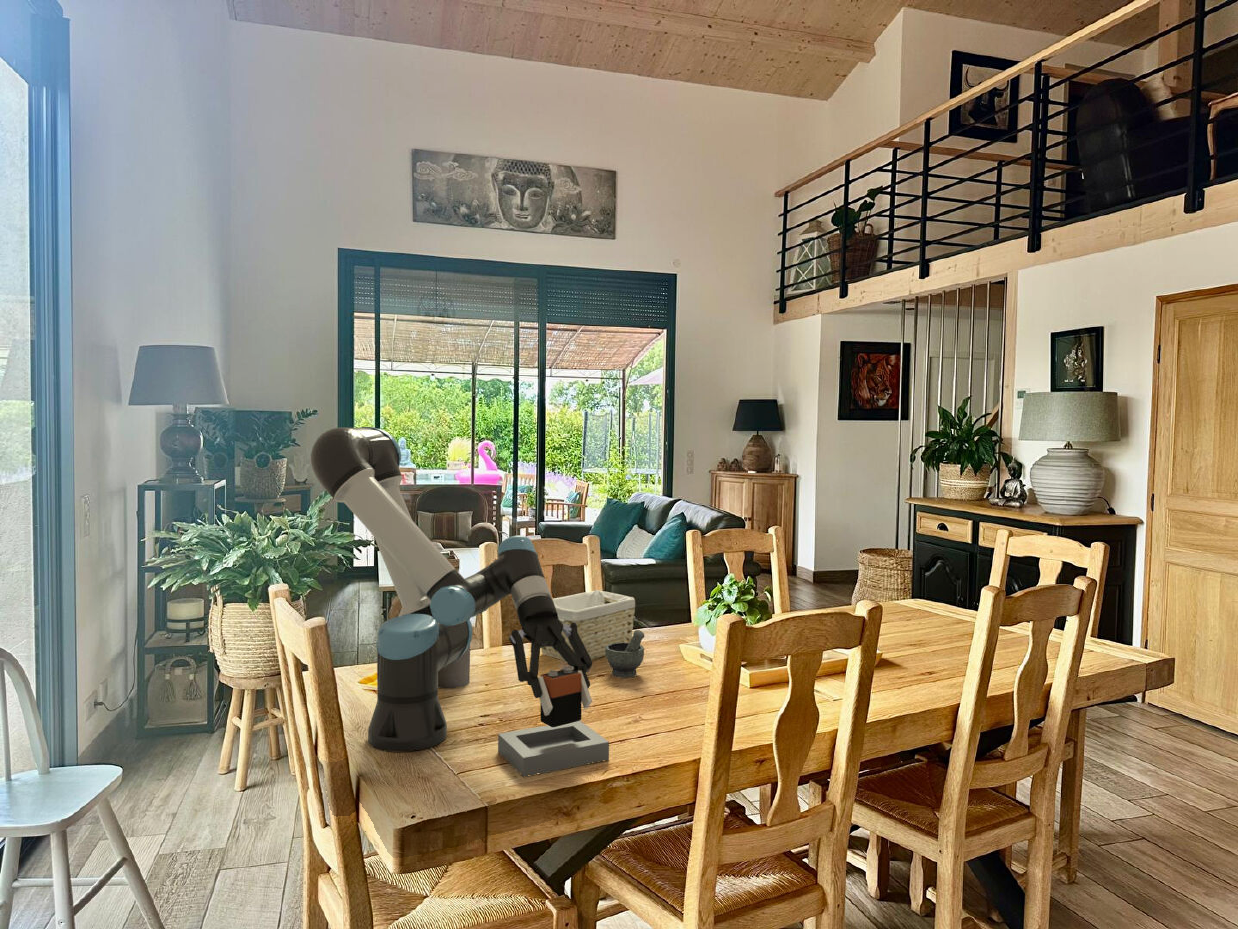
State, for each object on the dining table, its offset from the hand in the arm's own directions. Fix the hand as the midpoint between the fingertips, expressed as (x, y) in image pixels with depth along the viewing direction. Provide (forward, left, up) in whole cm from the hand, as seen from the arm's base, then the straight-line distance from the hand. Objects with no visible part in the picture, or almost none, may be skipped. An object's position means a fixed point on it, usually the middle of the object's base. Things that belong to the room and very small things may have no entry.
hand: (568, 708), depth 156 cm
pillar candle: (-5, +56, -11) cm, 58 cm away
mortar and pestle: (+36, +43, -11) cm, 57 cm away
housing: (-1, +4, -10) cm, 11 cm away
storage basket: (+36, +67, -11) cm, 77 cm away
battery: (0, +3, -4) cm, 5 cm away
